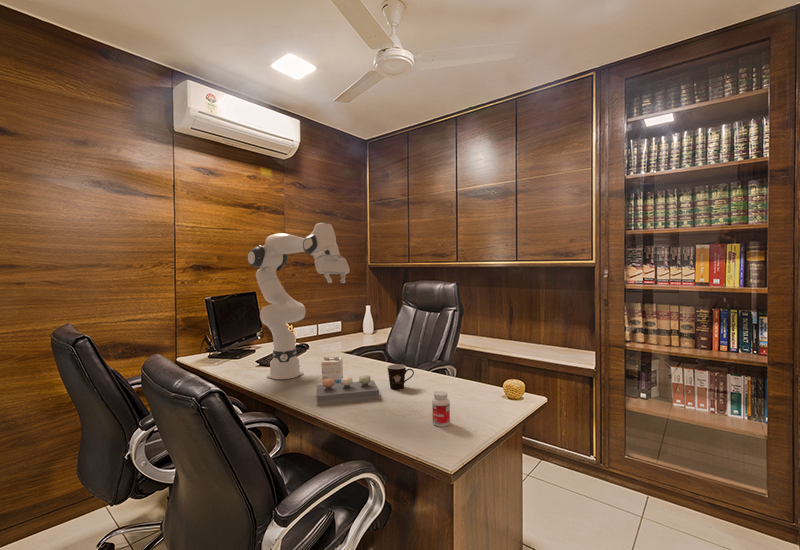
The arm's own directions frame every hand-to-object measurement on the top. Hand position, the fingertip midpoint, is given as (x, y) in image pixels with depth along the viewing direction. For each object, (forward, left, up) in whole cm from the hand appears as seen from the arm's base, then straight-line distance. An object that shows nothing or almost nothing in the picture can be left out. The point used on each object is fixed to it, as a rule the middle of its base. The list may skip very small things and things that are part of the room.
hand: (336, 282), depth 173 cm
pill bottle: (+50, +33, -50) cm, 78 cm away
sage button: (+11, +11, -46) cm, 49 cm away
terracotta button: (+11, -5, -46) cm, 48 cm away
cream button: (+11, +3, -46) cm, 48 cm away
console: (+11, +3, -50) cm, 51 cm away
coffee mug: (+7, +28, -50) cm, 58 cm away
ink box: (-11, -2, -50) cm, 52 cm away
